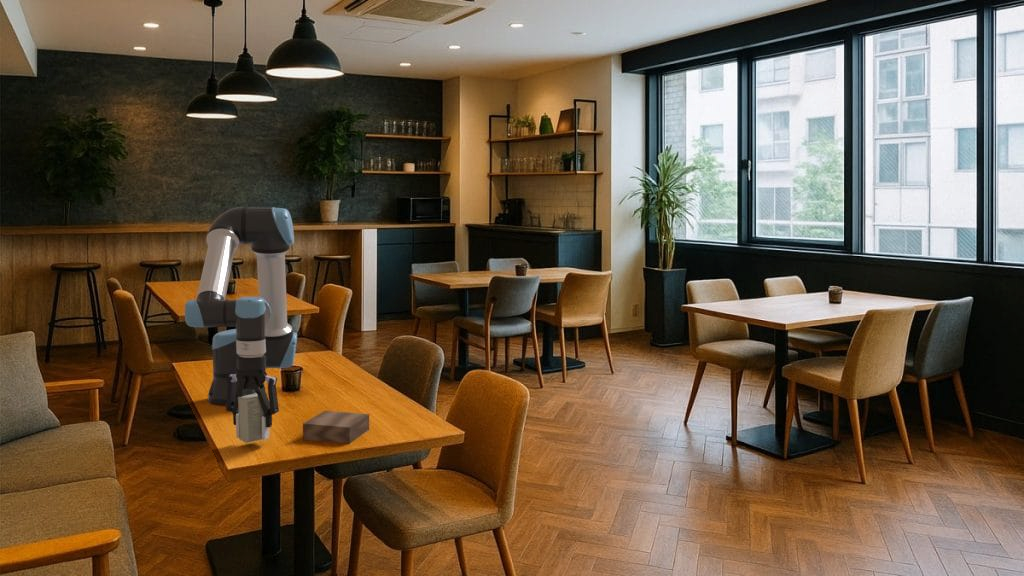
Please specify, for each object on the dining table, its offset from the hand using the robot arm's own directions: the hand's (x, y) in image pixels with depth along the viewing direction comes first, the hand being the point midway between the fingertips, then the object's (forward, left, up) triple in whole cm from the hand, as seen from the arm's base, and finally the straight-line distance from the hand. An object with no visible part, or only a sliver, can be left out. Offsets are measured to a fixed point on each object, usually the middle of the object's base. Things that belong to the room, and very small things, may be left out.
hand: (252, 437), depth 219 cm
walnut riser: (+18, +15, -3) cm, 23 cm away
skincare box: (0, 0, -1) cm, 1 cm away
